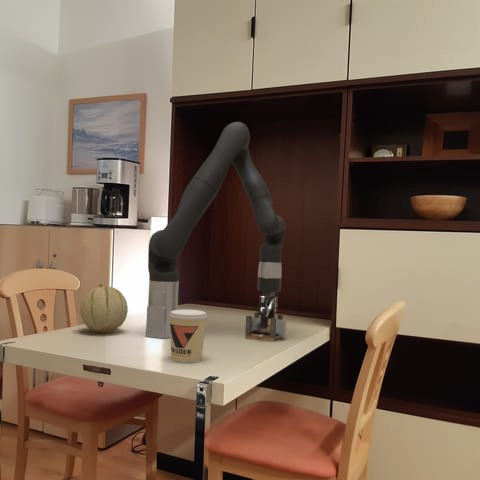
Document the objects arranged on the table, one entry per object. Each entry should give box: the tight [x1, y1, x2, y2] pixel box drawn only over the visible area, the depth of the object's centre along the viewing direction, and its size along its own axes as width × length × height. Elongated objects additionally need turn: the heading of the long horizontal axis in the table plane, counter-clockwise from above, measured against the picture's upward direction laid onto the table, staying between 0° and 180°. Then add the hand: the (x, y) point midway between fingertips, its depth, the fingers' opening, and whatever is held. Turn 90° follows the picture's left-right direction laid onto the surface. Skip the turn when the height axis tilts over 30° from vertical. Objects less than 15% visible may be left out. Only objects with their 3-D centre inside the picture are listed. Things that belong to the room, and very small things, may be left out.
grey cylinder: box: [251, 316, 287, 337], centre depth 157 cm, size 11×5×5 cm, turn 71°
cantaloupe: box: [79, 283, 129, 334], centre depth 154 cm, size 15×15×15 cm
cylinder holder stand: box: [244, 311, 284, 343], centre depth 157 cm, size 10×9×7 cm
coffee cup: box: [170, 309, 208, 364], centre depth 124 cm, size 9×9×12 cm
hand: (267, 326), depth 157 cm, fingers open, 8 cm apart
